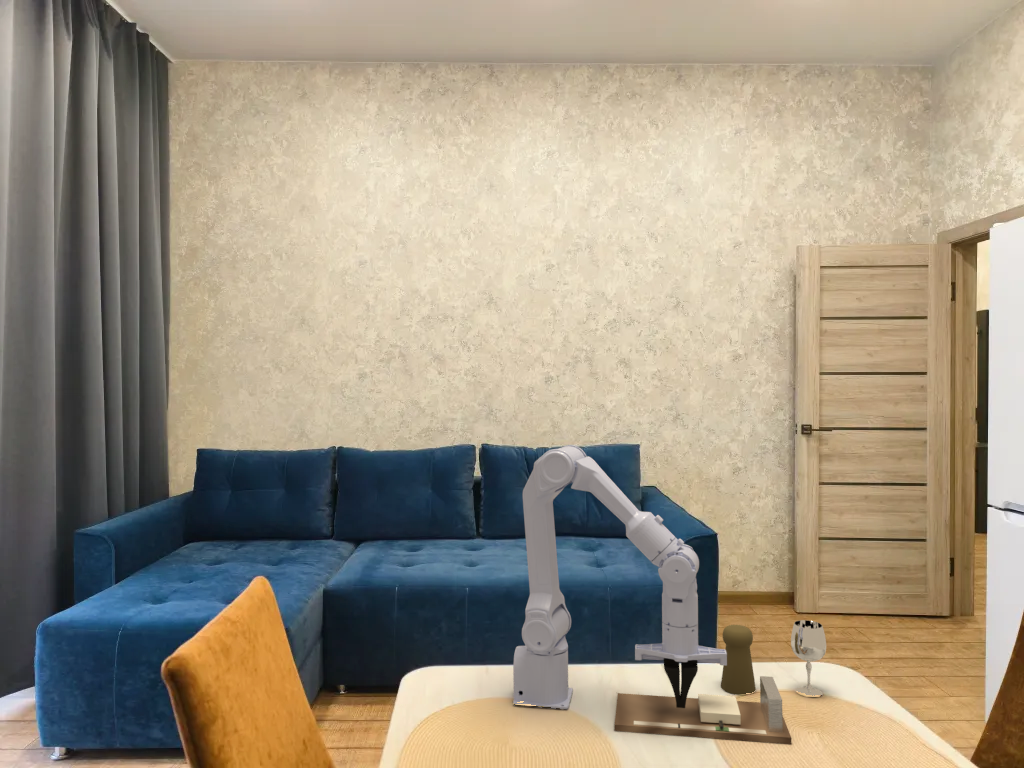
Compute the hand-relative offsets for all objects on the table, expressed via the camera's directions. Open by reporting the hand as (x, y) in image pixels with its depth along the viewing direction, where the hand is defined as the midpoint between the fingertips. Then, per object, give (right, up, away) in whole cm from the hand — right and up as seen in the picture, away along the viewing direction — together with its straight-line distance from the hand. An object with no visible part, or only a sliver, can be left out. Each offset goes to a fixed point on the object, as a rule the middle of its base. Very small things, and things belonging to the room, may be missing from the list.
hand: (680, 705), depth 120 cm
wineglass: (+25, -2, +10) cm, 27 cm away
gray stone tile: (+14, -2, -3) cm, 14 cm away
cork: (+13, -2, +12) cm, 18 cm away
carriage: (+6, -1, -2) cm, 6 cm away
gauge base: (+3, -2, -1) cm, 4 cm away
